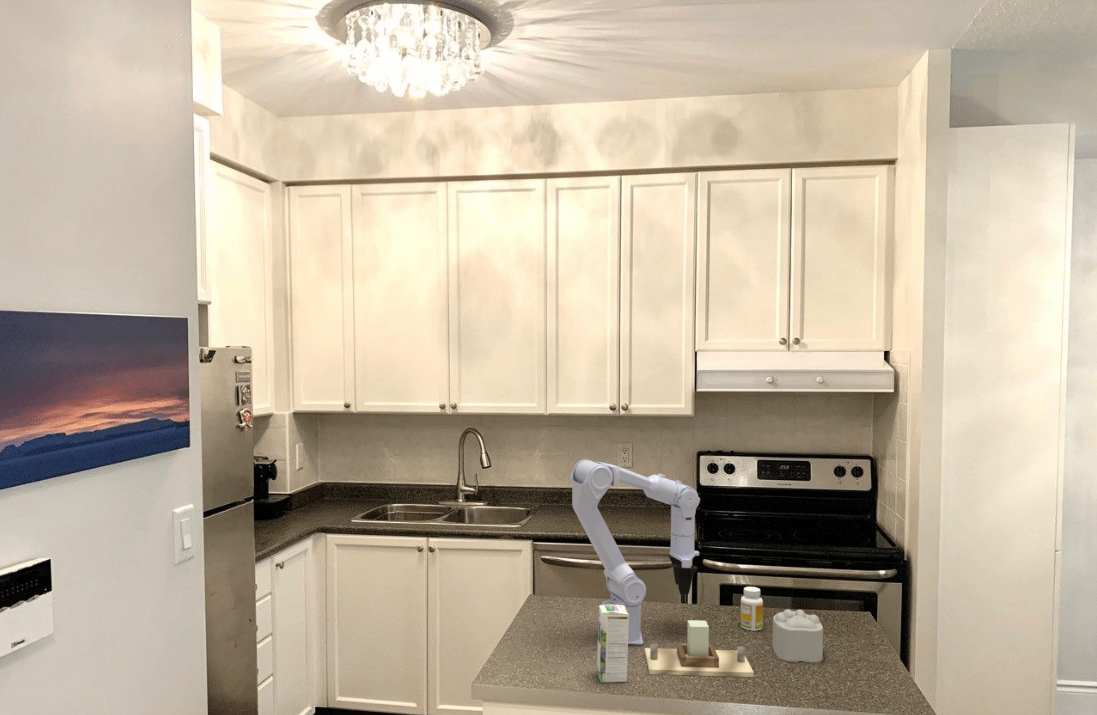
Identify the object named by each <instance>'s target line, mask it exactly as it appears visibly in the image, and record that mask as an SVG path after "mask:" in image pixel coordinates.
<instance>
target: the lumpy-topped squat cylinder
mask: <svg viewBox="0 0 1097 715" xmlns="http://www.w3.org/2000/svg"><path fill="white" fill-rule="evenodd" d="M823 641H824V628H823V624H822V623H821V621H820V618H819V617H818V616H817V615H816V614H807V613H805V612H804V610H802V609H797V610H795V611H794V610H791V609H789V608H787V609H785V610H784V611H780V612H777V613H776V614H775V615H774V616H773V617H772V650H773V652H774V653H776V654H775V656H777V657H778V658H779V659H781V660H783V661H786V662H792V661H793V663H795V661H796V662H798V661H804V662H803V663H813V662H814V664H815V663H821V662H822V661H823V658H824V657H823V655H824V654H823V653H824V652H823V651H824V650H823V649H824V648H823V646H824V645H823V644H824V642H823ZM798 663H799V662H798Z"/></svg>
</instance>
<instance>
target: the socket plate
mask: <svg viewBox="0 0 1097 715" xmlns="http://www.w3.org/2000/svg"><path fill="white" fill-rule="evenodd" d="M644 653H645V654H644V656H645V660H646V665H647V668H648V669H647V670H648V674H649V675H659V676H660V675H665V676H666V675H667V676H694V677H695V676H700V677H702V676H703V677H734V678H755V672H754V670H753V668H752V666H751V665H750V662H749V661H748V659H747V657H746V647H745V646H742V645H738V646H737V649H736V650H733V649H727V650H726V649H716V648H715V646H714V644H713V643H712V644H710V643H709V650H708V656H687V643H676V648H663V647H662V648H660V647H659V644H657V643H650V647H644Z"/></svg>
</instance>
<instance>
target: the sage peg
mask: <svg viewBox="0 0 1097 715" xmlns="http://www.w3.org/2000/svg"><path fill="white" fill-rule="evenodd" d="M709 637H710V627H709V625H708V622H707V620H699V619H698V620H695V619H693V620H692V619H691V620H687V637H686V638H687V639H686V640H687V643H686V644H687V656H708V650H709V644H710V640H709V639H710V638H709Z"/></svg>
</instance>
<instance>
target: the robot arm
mask: <svg viewBox="0 0 1097 715" xmlns="http://www.w3.org/2000/svg"><path fill="white" fill-rule="evenodd" d="M569 478H570V480H571V485H572V491H571V492H572V494H571V499H572V500H571V501H572V502H571V503H572V504H571V505H572V508H573V509H572V510H573V511H574V513H575V514H576V516H577V519H578V520H579V522H580V524H581V526H582V528H583V530H584V531H585V533H586V535H587V537H588V539H589V542H590V543H591V545H592V547H593V549H594V551H595V553H596V554H597V557H598V559H599V561H600V562H601V564H602V566H603V568H604V570H603V575H604V576H605V581H606V584H605V585H606V588H607V590H608V591H609V593H610V599H609V600H602V602H601V605H623V606H625V608H626V610H627V612H628V614H629V625H628V645H638V646H639V645H640V646H642V645H644V640H643V635H642V631H641V627H642V626H641V622H642V621H641V617H642V616H641V615H642V602H643V600H644V599H645V597H646V594H647V587H646V584H645V583H644V581H643V580H642V579H640V578H639V577H638V576H637V575H636V573H635V572H634V570H633V569H632V568H631V567H630V565H629V564H628V563H627V562H626V560H625V558H624V556H623V555H622V552H621V550H620V547H619V546H618V545H617V542H616V540H615V539H614V537H613V535H612V533H611V531H610V530H609V527H608V525H607V524H606V522H605V520H604V517H603V515H602V514H601V512H600V510H599V508H598V505H599V502H600V500H601V499H602V498H603V496H604V495H605V494H606V493H607V491H608V490H609V488H610V487H611V486H612V487H616V486H617V485H618V484H619V483H620V484H624V485H628V486H629V487H632V488H633V487H634V488H637V489H640V490H643V493H644V495H645V496H646V497H647V498H650V499H653V500H655V501H659V502H661V503H664V504H667V505H670V550H669V554H668V558H669V559H670V563H671V566H672V571H673V577H674V581H675V585H677V588H678V591H679V592H678V593H679V594H680V595H690V594H689V593H690V590H691V586H692V581H693V578H694V576H695V574H696V572H697V570H698V567H697V565H692V564H691V563H692V560H693V559H694V557H696V556H697V557H698V556H700V551H698V550H695V526H696V524H695V521H696V520H695V515H696V510H697V508H698V506H699V504H700V503H701V502H700V501H701V498H700V497H699V494H698V492H697V490H696V489H695V488H694V487H691V486H688V485H687V484H686V485H685V484H683V483H682V481H680V480H677V479H675V480H672V479H668V478H666V474H662V473H657V474H651V475H650V476H647V477H646V476H644V475H642V474H638V473H636V472H633V471H630V470H629V469H627V468H624V467H621V466H618V465H615V464H611V463H607V462H601V461H592V460H591V459H588V458H587V459H585V458H584V459H581V460H579V461H578V462H577V463H576V464H575V465H574V467H573V470H572V472H571V474H570V477H569Z"/></svg>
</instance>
